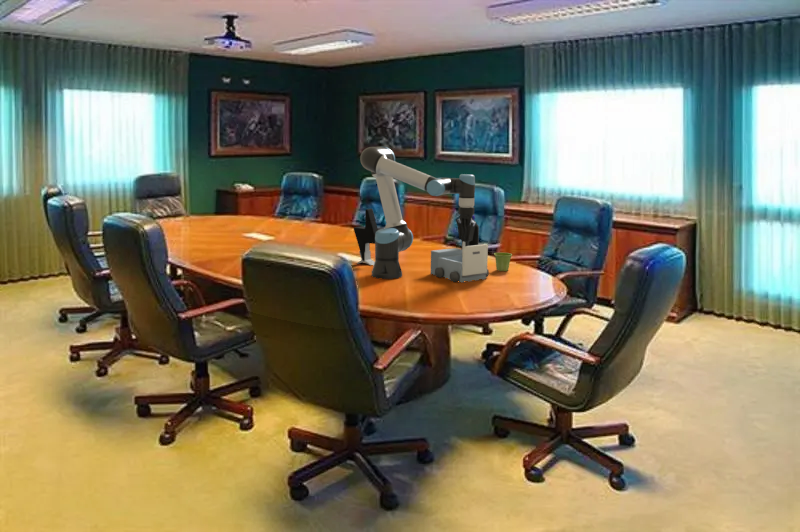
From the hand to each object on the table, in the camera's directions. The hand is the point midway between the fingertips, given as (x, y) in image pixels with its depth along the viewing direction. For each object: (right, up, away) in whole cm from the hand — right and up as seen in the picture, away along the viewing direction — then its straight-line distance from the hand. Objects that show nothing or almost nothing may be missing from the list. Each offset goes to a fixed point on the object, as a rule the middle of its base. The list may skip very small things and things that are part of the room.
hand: (465, 254), depth 346 cm
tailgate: (+4, -10, -4) cm, 12 cm away
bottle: (+5, -7, +30) cm, 31 cm away
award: (-50, -5, +37) cm, 62 cm away
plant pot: (+22, -8, +23) cm, 33 cm away
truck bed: (-3, -11, +7) cm, 13 cm away
